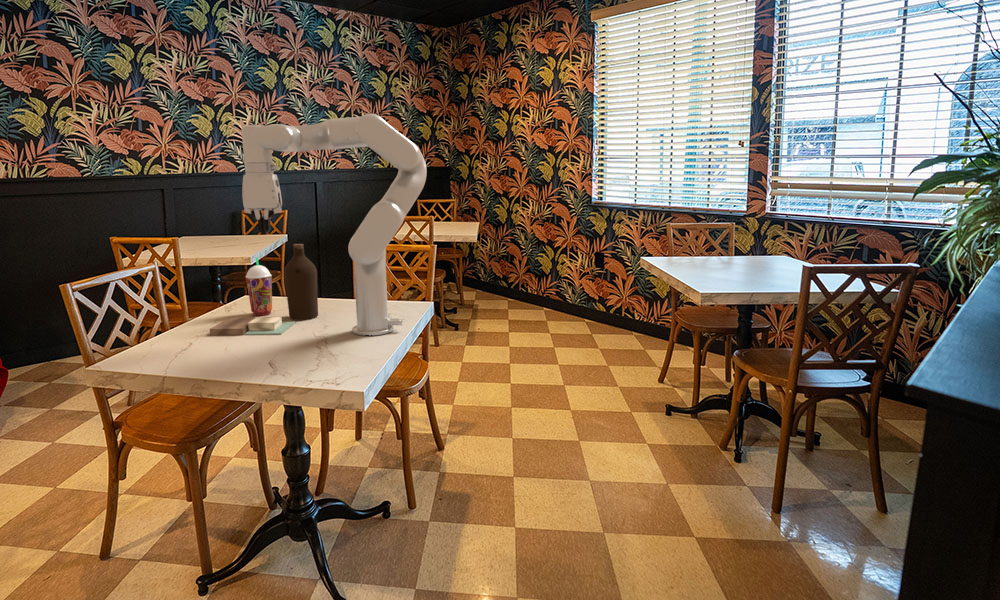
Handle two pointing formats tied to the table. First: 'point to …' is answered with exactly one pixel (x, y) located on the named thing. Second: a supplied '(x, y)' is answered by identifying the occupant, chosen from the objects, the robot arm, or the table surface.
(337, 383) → the table surface
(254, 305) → the smoothie
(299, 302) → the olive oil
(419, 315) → the table surface
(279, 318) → the tile
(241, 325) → the deck
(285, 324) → the mat
